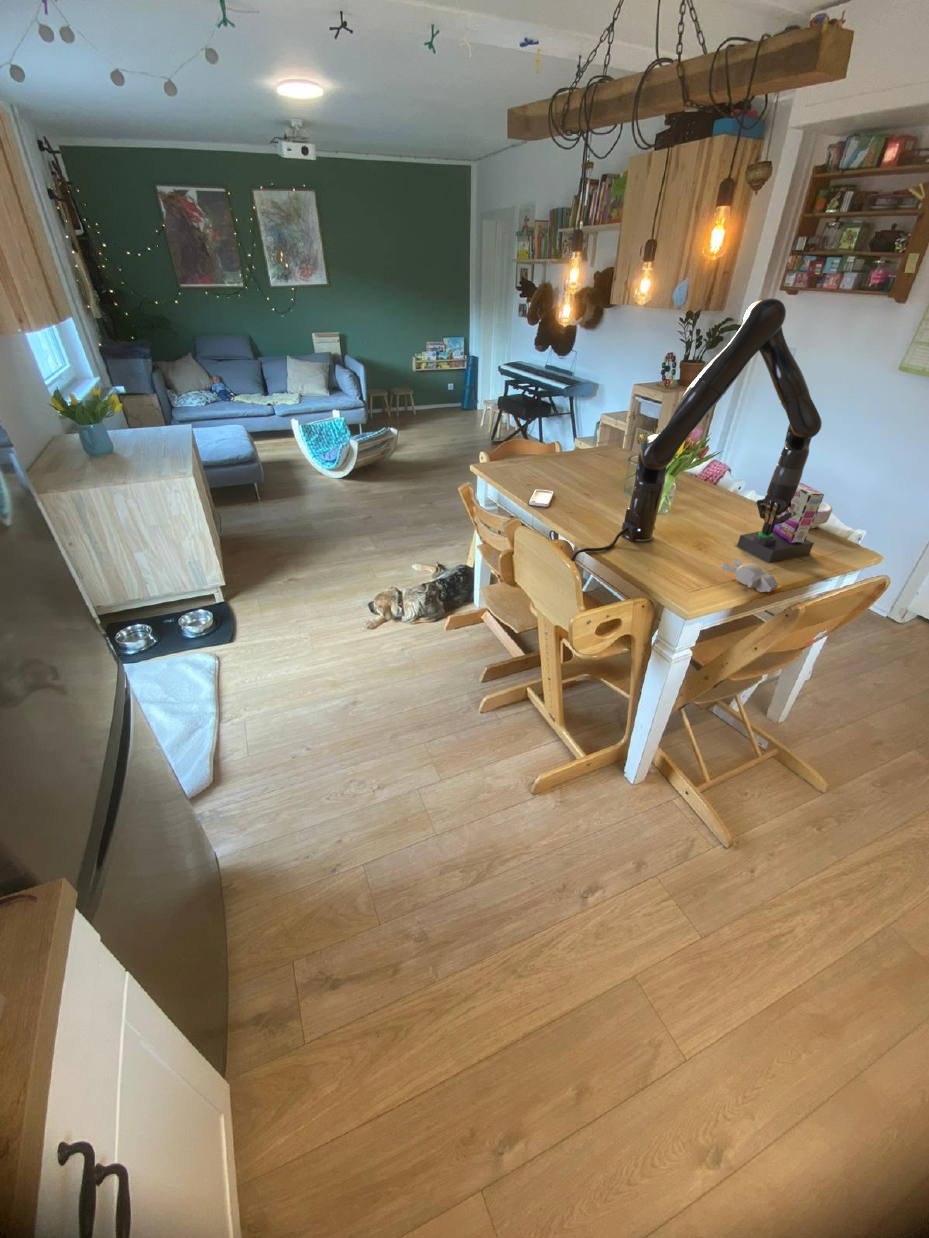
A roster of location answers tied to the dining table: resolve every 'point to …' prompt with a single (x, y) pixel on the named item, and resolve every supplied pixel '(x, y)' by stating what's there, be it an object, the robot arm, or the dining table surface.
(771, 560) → the black button box
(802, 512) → the candy bar box
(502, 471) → the dining table surface
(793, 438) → the robot arm
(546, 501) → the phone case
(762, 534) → the button
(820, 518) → the paper bowls
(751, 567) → the bunny figurine
